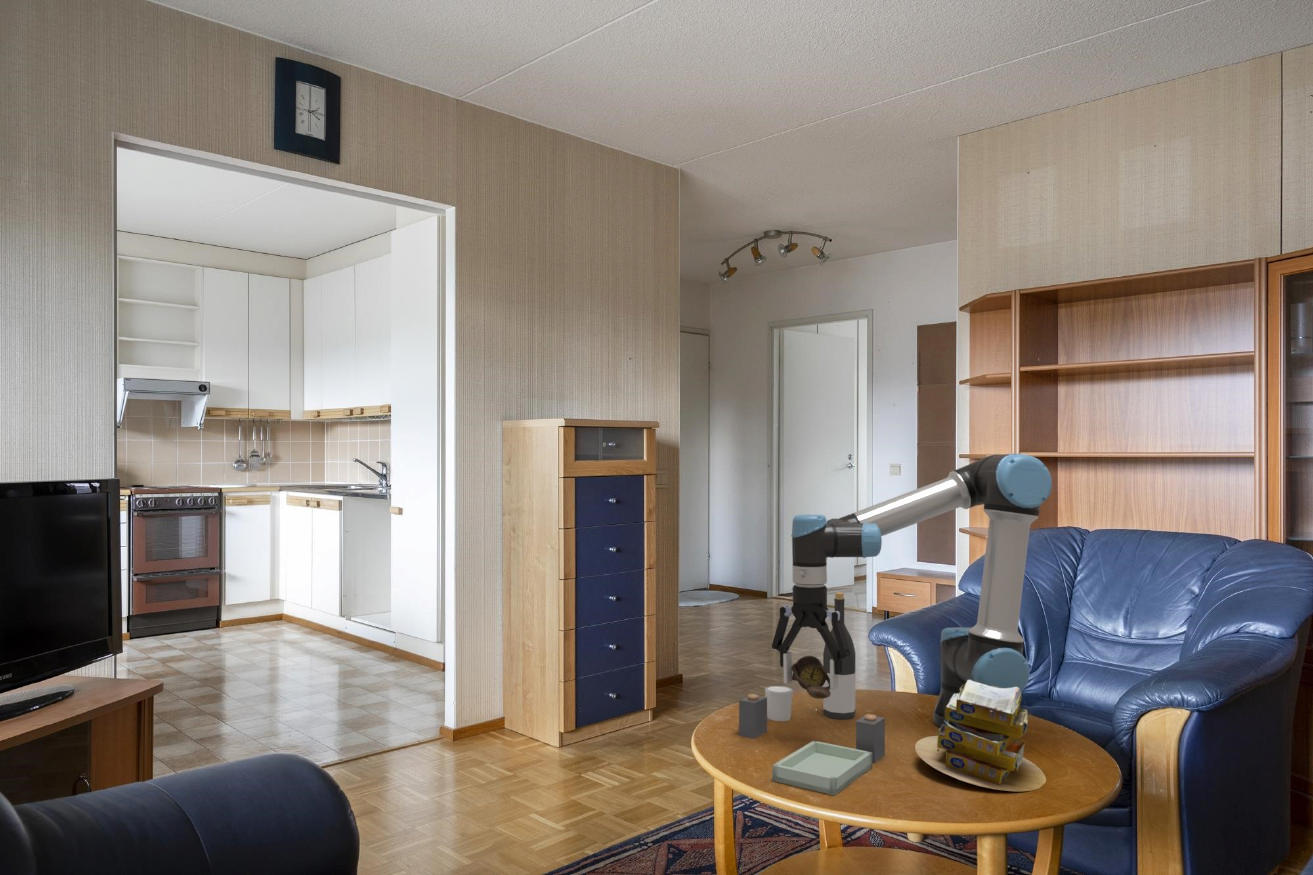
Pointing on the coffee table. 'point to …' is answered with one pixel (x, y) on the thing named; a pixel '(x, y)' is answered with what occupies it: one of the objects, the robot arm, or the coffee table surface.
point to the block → (871, 736)
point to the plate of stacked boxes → (983, 740)
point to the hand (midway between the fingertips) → (810, 685)
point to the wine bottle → (841, 675)
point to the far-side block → (752, 716)
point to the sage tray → (822, 767)
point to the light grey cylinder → (779, 702)
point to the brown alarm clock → (811, 676)
